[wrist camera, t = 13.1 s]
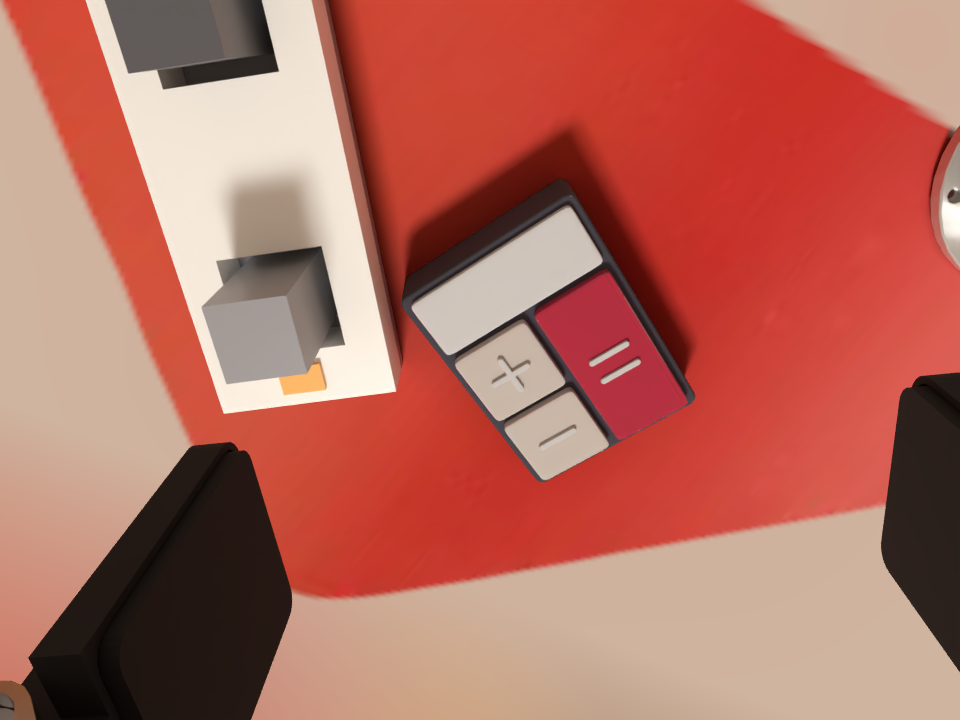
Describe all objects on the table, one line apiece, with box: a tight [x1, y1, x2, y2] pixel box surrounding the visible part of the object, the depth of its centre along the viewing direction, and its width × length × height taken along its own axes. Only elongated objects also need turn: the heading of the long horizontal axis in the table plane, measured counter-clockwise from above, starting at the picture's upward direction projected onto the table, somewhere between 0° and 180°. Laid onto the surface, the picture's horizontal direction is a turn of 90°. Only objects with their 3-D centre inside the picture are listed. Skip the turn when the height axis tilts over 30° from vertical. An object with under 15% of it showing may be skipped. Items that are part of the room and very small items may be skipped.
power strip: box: [86, 0, 403, 414], centre depth 37 cm, size 10×26×4 cm, turn 8°
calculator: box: [402, 179, 695, 482], centre depth 42 cm, size 11×4×15 cm
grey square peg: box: [201, 247, 338, 384], centre depth 37 cm, size 4×4×8 cm
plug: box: [105, 0, 275, 74], centre depth 31 cm, size 4×4×8 cm
